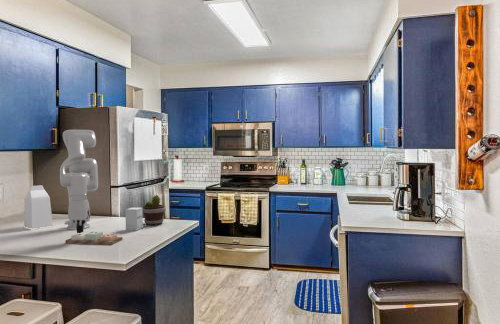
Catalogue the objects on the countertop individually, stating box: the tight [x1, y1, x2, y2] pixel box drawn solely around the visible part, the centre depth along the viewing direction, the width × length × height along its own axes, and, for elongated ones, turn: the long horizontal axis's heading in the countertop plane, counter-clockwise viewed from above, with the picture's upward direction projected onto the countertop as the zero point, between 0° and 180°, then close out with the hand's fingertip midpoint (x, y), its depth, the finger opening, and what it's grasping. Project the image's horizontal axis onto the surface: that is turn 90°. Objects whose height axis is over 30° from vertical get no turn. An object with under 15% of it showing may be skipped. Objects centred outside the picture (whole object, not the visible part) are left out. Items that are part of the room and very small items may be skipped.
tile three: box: [100, 233, 118, 241], centre depth 183 cm, size 6×6×3 cm
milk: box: [23, 184, 54, 229], centre depth 222 cm, size 12×12×26 cm
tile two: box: [85, 231, 104, 240], centre depth 184 cm, size 6×6×3 cm
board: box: [64, 236, 124, 246], centre depth 185 cm, size 26×10×2 cm, turn 80°
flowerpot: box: [141, 193, 166, 226], centre depth 226 cm, size 14×15×20 cm
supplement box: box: [124, 207, 144, 232], centre depth 212 cm, size 7×7×13 cm
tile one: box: [70, 232, 88, 240], centre depth 186 cm, size 6×6×3 cm
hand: (80, 232), depth 186 cm, fingers closed
